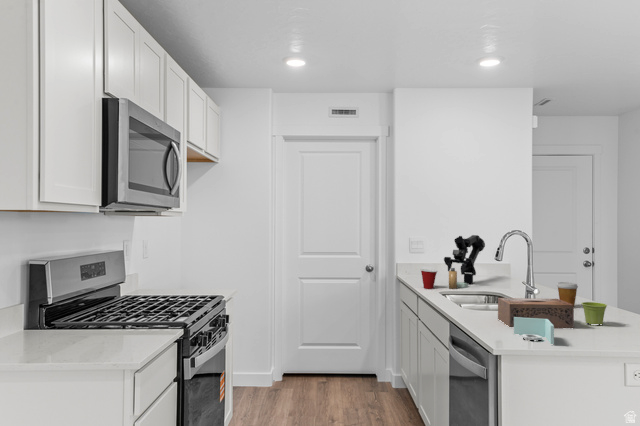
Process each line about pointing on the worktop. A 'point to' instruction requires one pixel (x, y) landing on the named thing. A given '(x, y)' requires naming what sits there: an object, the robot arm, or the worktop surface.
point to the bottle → (452, 279)
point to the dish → (461, 285)
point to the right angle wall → (534, 328)
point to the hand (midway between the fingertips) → (455, 271)
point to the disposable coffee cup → (567, 292)
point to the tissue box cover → (536, 311)
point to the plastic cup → (428, 278)
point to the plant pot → (594, 312)
